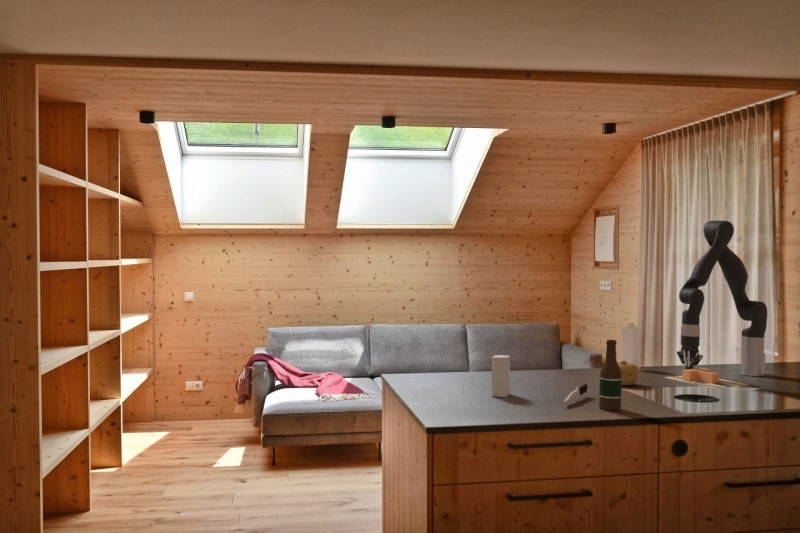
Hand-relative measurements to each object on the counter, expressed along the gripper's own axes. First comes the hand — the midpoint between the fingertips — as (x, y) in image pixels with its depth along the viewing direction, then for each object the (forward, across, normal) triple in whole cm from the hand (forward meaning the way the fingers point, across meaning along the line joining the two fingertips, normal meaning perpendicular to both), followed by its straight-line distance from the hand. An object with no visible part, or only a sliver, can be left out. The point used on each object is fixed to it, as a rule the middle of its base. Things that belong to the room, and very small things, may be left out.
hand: (689, 374), depth 310 cm
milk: (+2, +27, +8) cm, 29 cm away
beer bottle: (+2, -34, +70) cm, 78 cm away
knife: (+2, -20, +75) cm, 77 cm away
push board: (+2, -9, 0) cm, 9 cm away
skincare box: (+3, 0, +94) cm, 94 cm away
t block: (+1, -8, 0) cm, 8 cm away
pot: (+2, +1, +35) cm, 35 cm away
